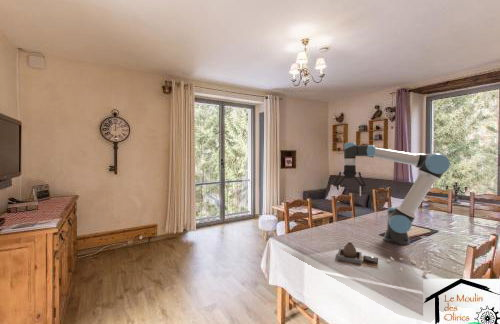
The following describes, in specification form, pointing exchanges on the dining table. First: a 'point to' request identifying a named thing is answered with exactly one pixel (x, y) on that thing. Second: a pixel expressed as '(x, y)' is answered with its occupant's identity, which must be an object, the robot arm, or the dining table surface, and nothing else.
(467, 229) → the dining table surface
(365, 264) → the flange board
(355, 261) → the grey tray board
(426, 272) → the game piece set
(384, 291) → the dining table surface
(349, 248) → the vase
